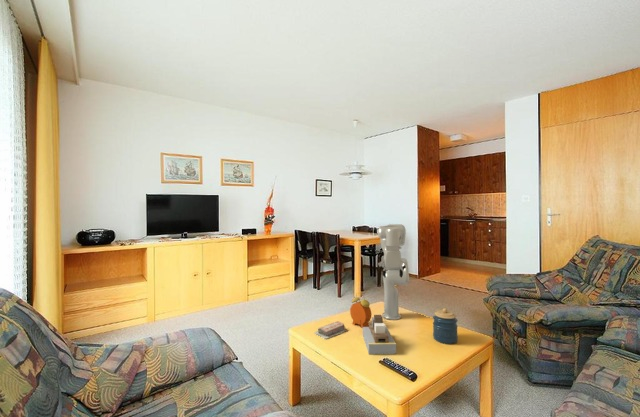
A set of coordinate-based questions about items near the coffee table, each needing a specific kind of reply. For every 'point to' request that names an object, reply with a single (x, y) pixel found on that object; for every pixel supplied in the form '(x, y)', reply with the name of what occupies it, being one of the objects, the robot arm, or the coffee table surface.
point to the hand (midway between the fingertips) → (392, 277)
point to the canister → (445, 327)
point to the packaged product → (331, 330)
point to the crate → (379, 327)
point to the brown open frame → (378, 335)
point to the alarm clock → (360, 312)
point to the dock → (381, 345)
